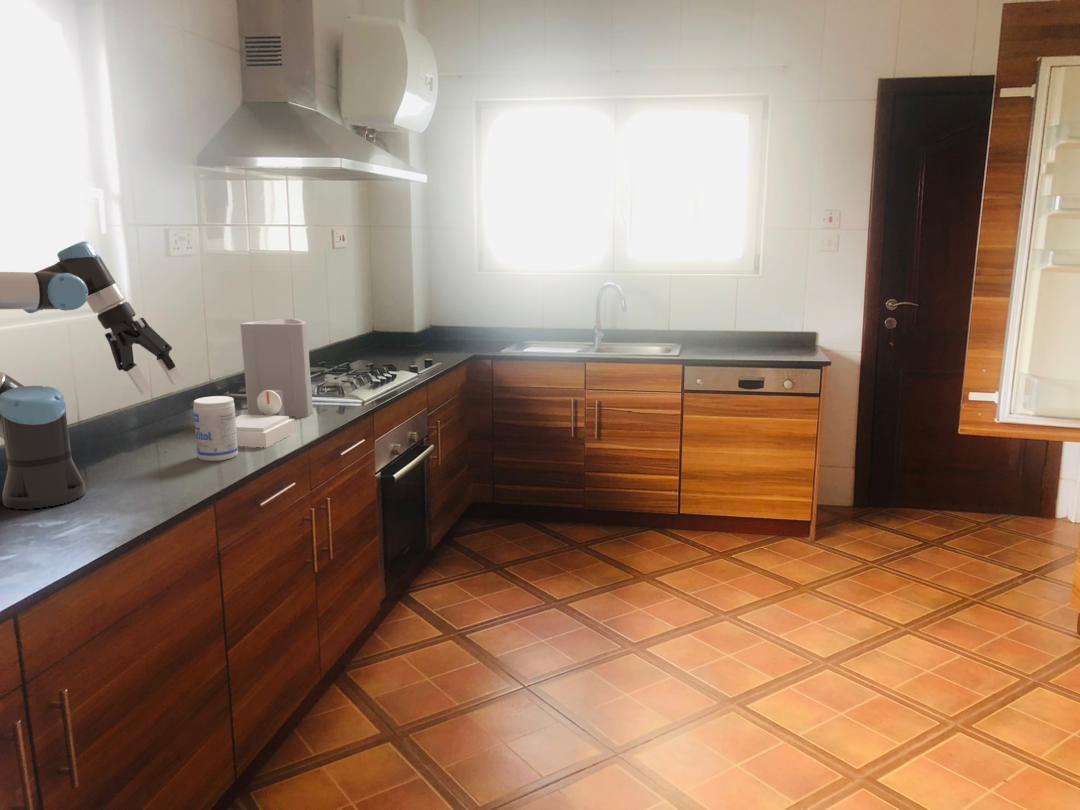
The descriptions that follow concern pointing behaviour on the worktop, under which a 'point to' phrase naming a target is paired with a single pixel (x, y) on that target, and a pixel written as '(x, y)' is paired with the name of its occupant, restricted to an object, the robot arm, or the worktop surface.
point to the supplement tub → (215, 428)
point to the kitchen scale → (265, 422)
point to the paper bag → (277, 364)
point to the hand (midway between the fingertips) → (162, 387)
